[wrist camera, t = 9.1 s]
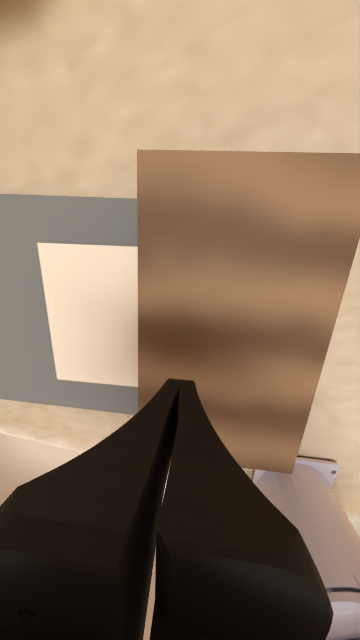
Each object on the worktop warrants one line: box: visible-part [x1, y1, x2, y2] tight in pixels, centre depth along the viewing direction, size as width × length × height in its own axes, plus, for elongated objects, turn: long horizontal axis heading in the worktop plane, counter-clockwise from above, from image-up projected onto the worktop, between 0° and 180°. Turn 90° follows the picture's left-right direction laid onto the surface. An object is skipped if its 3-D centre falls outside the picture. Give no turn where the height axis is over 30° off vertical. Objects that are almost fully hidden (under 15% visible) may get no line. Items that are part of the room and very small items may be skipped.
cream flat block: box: [37, 243, 138, 387], centre depth 18 cm, size 12×8×2 cm, turn 178°
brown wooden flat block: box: [137, 150, 360, 474], centre depth 17 cm, size 24×14×3 cm, turn 177°
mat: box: [0, 194, 138, 415], centre depth 19 cm, size 20×18×1 cm
